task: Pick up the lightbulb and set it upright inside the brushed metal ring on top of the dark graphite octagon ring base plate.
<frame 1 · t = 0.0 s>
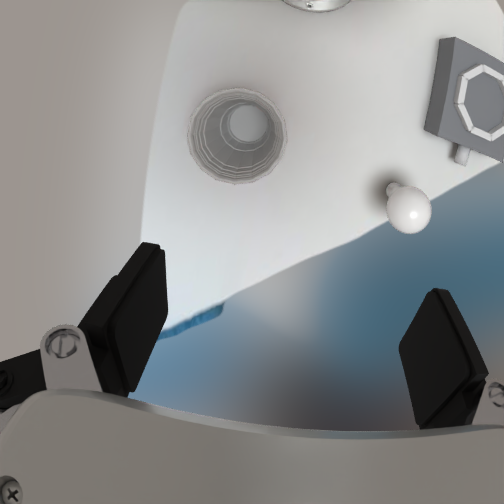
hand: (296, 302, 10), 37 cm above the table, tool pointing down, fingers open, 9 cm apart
lightbulb: (392, 188, 44), on the table
octagon ring base plate: (467, 97, 34), on the table
plastic cup: (249, 121, 42), on the table
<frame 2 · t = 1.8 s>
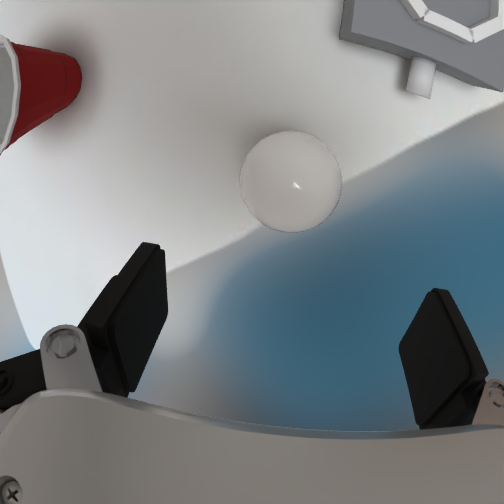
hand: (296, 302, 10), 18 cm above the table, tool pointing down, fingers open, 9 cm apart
lightbulb: (289, 150, 26), on the table
plastic cup: (62, 79, 23), on the table
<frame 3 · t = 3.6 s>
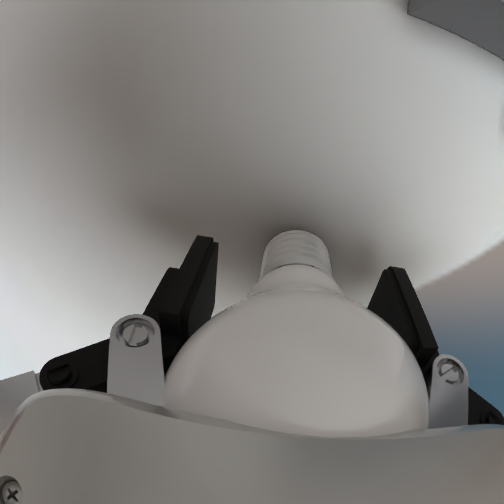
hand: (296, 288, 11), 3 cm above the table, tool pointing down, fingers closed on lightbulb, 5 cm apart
lightbulb: (295, 248, 13), on the table, touching gripper
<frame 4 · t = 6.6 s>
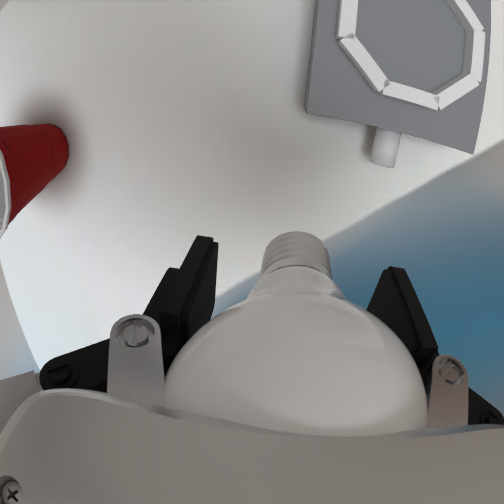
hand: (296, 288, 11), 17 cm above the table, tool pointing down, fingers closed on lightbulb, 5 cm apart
lightbulb: (296, 249, 13), point 14 cm above the table, touching gripper
octagon ring base plate: (392, 39, 19), on the table
plastic cup: (51, 146, 27), on the table
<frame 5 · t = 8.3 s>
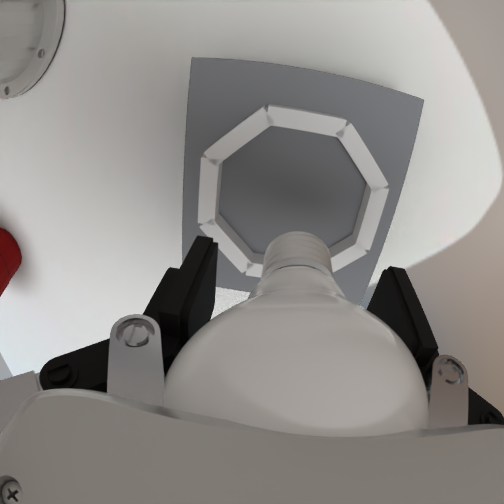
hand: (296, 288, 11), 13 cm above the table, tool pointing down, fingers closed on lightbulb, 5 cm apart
lightbulb: (297, 249, 13), point 11 cm above the table, touching gripper
octagon ring base plate: (290, 171, 22), on the table
plastic cup: (7, 245, 30), on the table
when the fingers open (8 cm above the table, at t = 9.6 s): lightbulb stays where it is, resting on octagon ring base plate.
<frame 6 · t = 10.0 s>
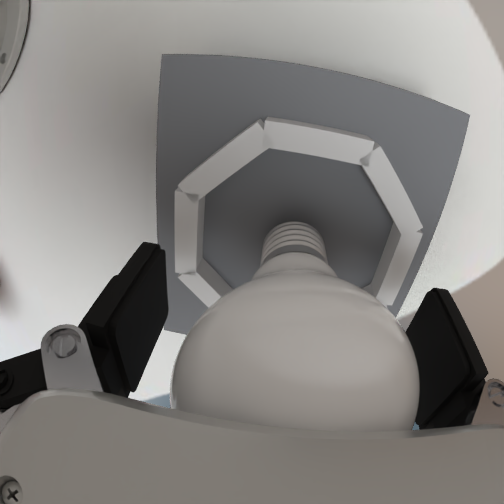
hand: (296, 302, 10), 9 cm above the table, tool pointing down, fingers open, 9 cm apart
lightbulb: (293, 239, 14), point 5 cm above the table, touching octagon ring base plate
octagon ring base plate: (294, 198, 18), on the table
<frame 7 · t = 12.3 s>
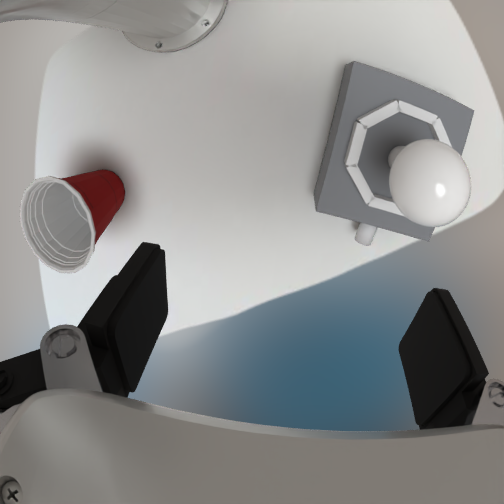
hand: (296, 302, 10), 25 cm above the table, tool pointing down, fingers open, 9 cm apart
lightbulb: (398, 157, 26), point 5 cm above the table, touching octagon ring base plate
octagon ring base plate: (386, 147, 30), on the table
plastic cup: (108, 188, 38), on the table
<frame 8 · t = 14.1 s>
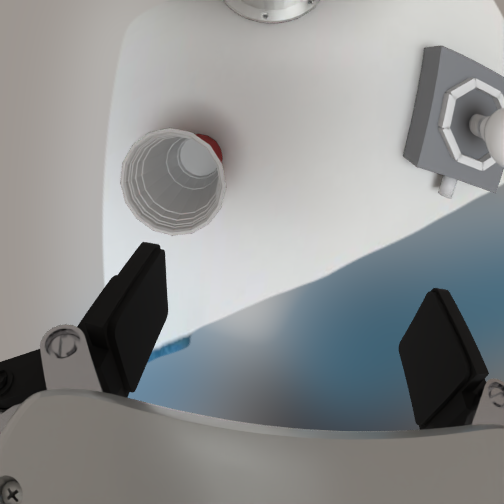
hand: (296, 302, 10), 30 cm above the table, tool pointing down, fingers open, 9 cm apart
lightbulb: (474, 123, 27), point 5 cm above the table, touching octagon ring base plate
octagon ring base plate: (456, 116, 31), on the table
plastic cup: (201, 153, 39), on the table
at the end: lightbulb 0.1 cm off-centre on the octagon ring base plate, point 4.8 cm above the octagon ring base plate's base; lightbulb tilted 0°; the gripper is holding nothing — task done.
